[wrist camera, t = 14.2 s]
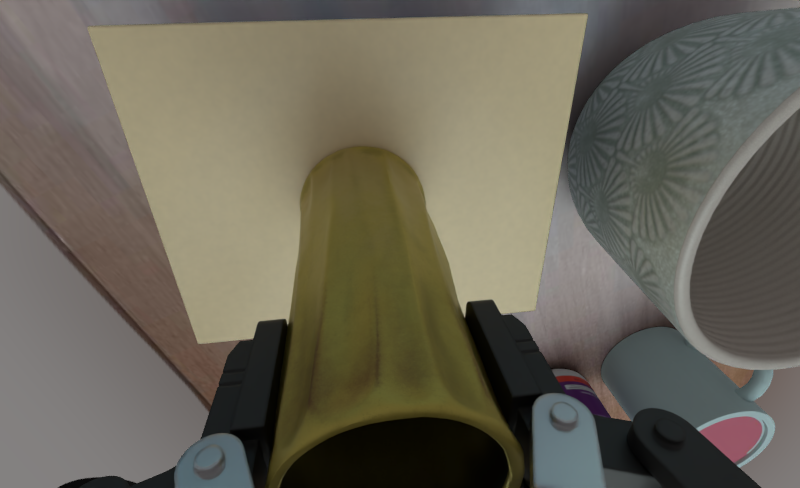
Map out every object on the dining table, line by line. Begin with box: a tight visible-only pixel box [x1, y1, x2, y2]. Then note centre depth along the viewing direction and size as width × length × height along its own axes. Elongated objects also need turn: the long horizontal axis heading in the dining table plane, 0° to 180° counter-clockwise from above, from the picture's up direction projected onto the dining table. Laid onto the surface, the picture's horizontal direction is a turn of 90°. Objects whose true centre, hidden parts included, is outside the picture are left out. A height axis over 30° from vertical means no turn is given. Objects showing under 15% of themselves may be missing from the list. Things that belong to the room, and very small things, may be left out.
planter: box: [567, 7, 800, 370], centre depth 24 cm, size 17×17×15 cm
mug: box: [601, 327, 775, 468], centre depth 38 cm, size 14×9×10 cm
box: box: [88, 13, 588, 344], centre depth 24 cm, size 20×16×9 cm
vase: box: [265, 146, 525, 488], centre depth 14 cm, size 6×6×14 cm
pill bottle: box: [552, 369, 611, 418], centre depth 37 cm, size 8×8×14 cm
